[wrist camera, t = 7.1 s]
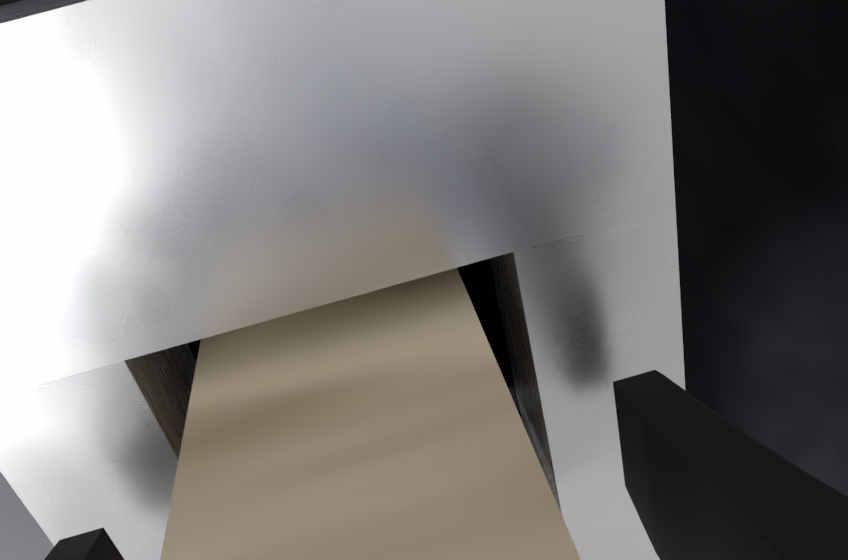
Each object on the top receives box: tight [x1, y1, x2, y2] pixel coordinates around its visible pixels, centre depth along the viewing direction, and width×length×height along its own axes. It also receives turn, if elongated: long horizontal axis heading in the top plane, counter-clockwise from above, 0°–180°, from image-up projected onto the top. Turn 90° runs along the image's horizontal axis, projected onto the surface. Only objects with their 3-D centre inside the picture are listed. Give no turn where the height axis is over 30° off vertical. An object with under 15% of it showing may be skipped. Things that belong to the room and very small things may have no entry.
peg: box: [160, 268, 581, 560], centre depth 10 cm, size 4×4×7 cm
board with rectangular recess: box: [0, 0, 685, 560], centre depth 13 cm, size 18×10×2 cm, turn 13°
